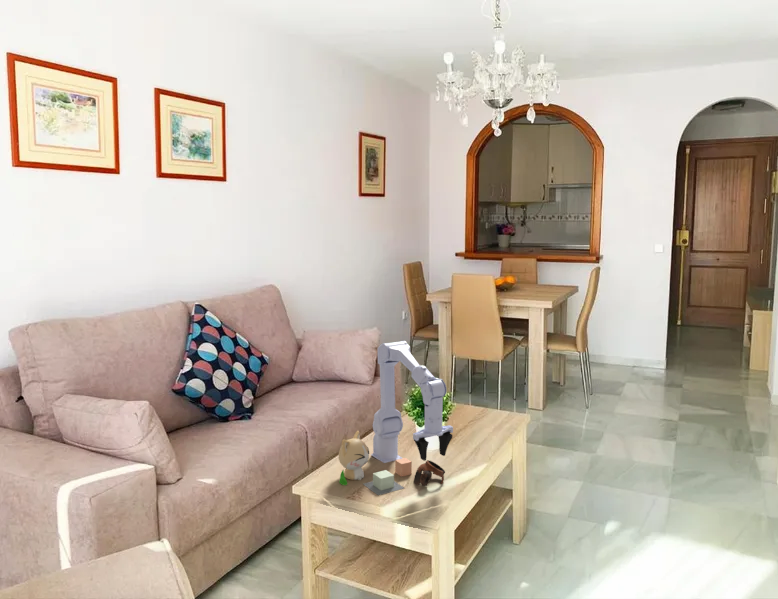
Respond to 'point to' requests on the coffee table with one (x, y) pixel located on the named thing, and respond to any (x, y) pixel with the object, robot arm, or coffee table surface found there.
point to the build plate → (380, 492)
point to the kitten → (353, 458)
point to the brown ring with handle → (428, 473)
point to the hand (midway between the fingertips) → (433, 457)
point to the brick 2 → (403, 467)
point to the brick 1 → (383, 480)
